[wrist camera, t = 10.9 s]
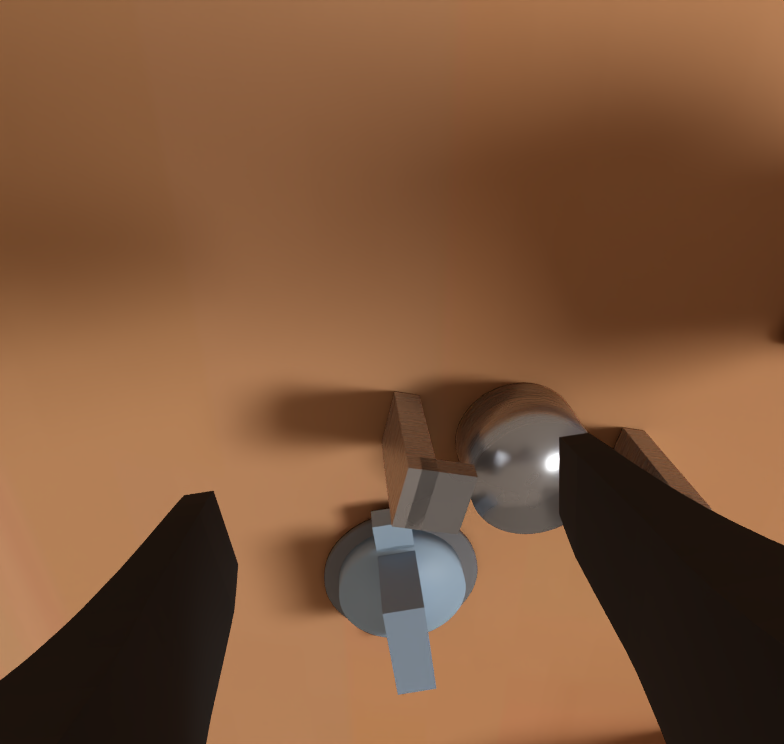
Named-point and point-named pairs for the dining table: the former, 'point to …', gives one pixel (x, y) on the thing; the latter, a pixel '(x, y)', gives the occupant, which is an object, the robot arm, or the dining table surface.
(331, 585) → the pad
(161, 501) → the dining table surface
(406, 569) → the cap
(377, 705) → the dining table surface
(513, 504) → the metal ball with blocks
